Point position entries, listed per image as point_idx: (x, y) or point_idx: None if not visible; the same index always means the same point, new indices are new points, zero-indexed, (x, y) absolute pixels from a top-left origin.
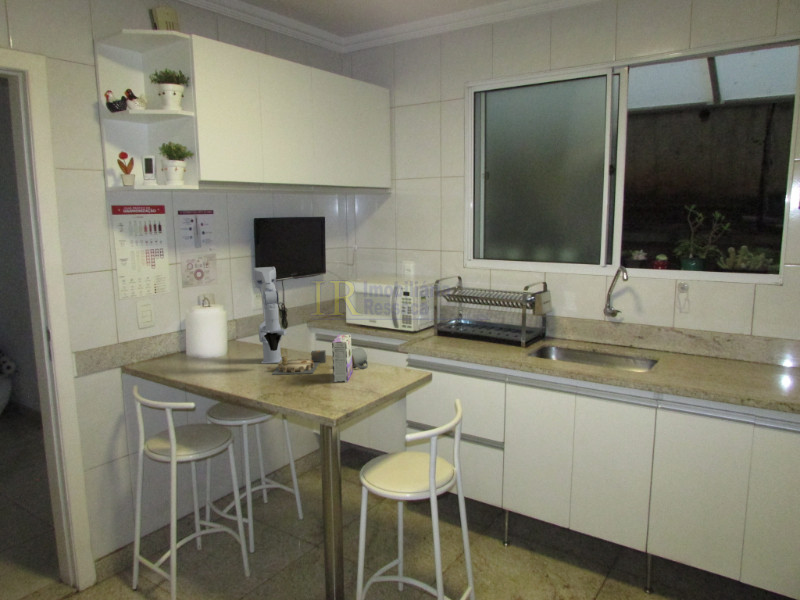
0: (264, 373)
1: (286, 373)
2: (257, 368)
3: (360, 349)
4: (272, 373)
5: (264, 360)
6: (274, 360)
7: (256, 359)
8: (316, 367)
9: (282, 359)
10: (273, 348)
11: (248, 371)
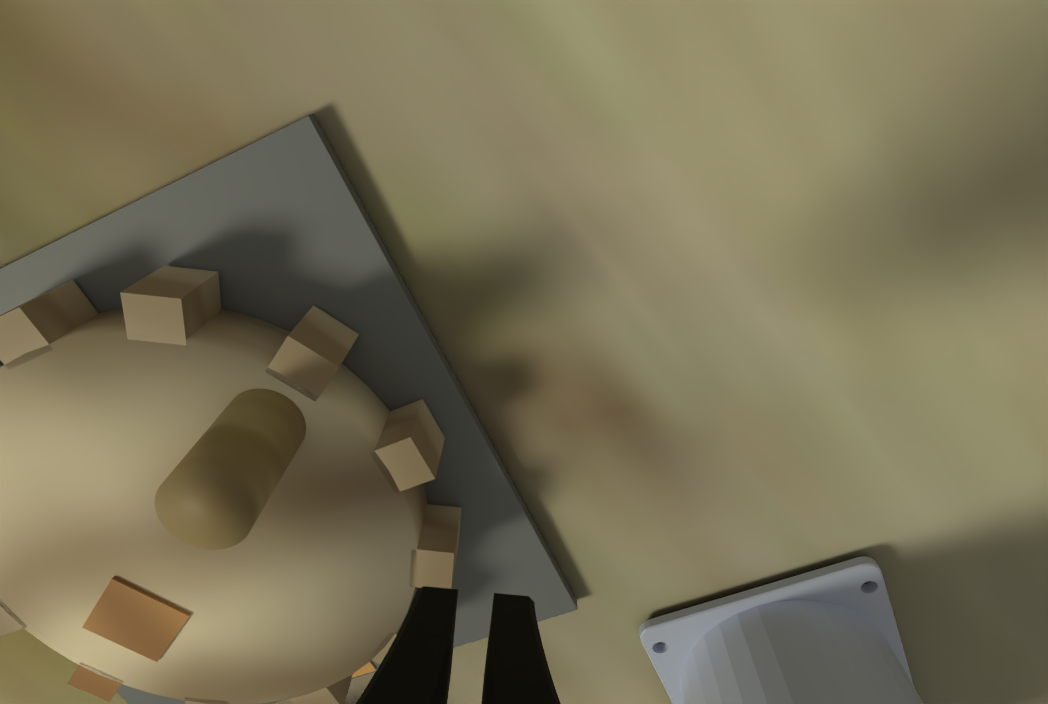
0: (502, 149)
1: (105, 219)
2: (796, 356)
3: None
4: (322, 143)
5: (857, 621)
6: (707, 648)
7: (1041, 682)
8: None
9: (228, 449)
10: (403, 625)
11: (857, 163)
